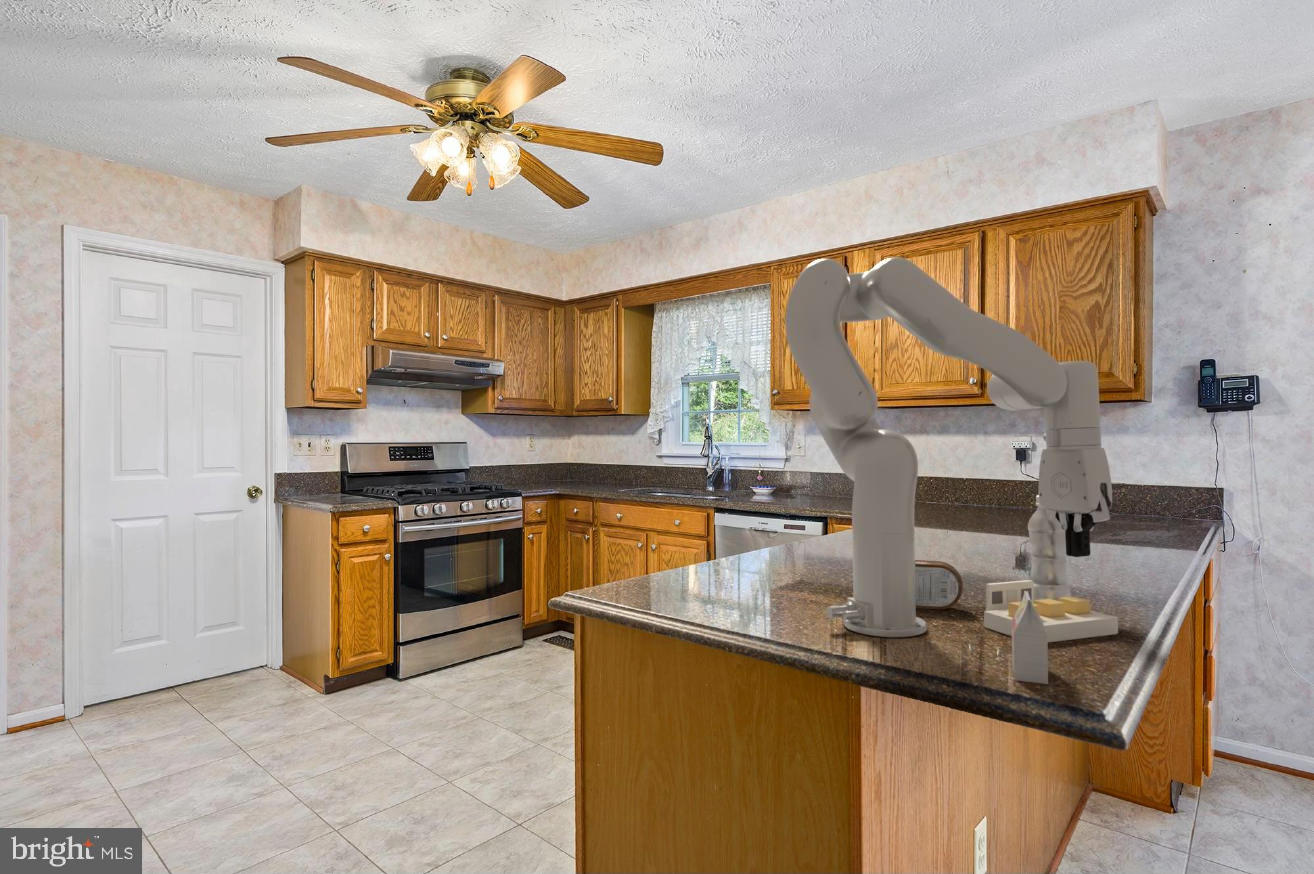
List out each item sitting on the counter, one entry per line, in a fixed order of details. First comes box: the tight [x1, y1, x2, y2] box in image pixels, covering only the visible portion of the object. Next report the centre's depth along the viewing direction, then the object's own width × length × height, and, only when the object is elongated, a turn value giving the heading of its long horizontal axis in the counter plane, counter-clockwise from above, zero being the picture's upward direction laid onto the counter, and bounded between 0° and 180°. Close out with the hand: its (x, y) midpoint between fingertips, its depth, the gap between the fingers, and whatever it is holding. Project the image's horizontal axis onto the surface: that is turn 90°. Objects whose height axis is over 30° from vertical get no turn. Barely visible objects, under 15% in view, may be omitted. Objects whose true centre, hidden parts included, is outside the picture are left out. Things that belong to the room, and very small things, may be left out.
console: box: [983, 609, 1119, 643], centre depth 111 cm, size 16×10×2 cm, turn 107°
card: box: [985, 579, 1033, 611], centre depth 118 cm, size 9×1×6 cm, turn 107°
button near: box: [1008, 602, 1040, 617], centre depth 109 cm, size 3×3×3 cm
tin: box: [915, 559, 964, 611], centre depth 127 cm, size 15×3×8 cm, turn 71°
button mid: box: [1034, 599, 1065, 618], centre depth 111 cm, size 3×3×3 cm
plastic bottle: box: [1027, 494, 1072, 604], centre depth 123 cm, size 6×7×20 cm
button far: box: [1059, 596, 1091, 615], centre depth 112 cm, size 3×3×3 cm
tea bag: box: [1011, 591, 1049, 685], centre depth 91 cm, size 4×7×10 cm, turn 156°
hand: (1078, 555), depth 112 cm, fingers closed
